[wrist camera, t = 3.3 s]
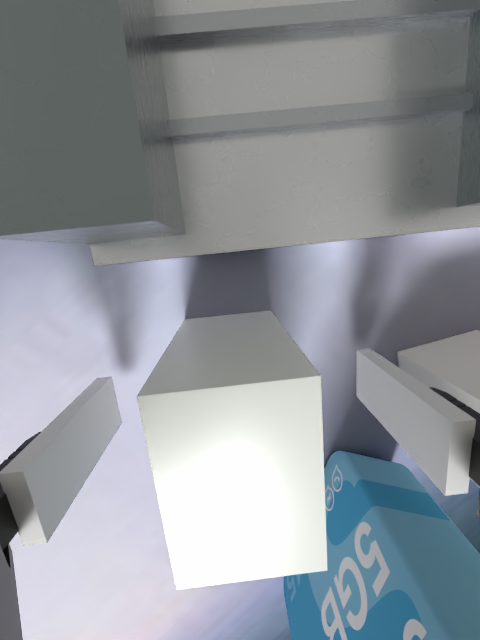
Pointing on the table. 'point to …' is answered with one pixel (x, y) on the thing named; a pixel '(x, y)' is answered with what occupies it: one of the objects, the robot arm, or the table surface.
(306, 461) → the block
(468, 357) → the block
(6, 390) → the table surface
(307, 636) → the data package
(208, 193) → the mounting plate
